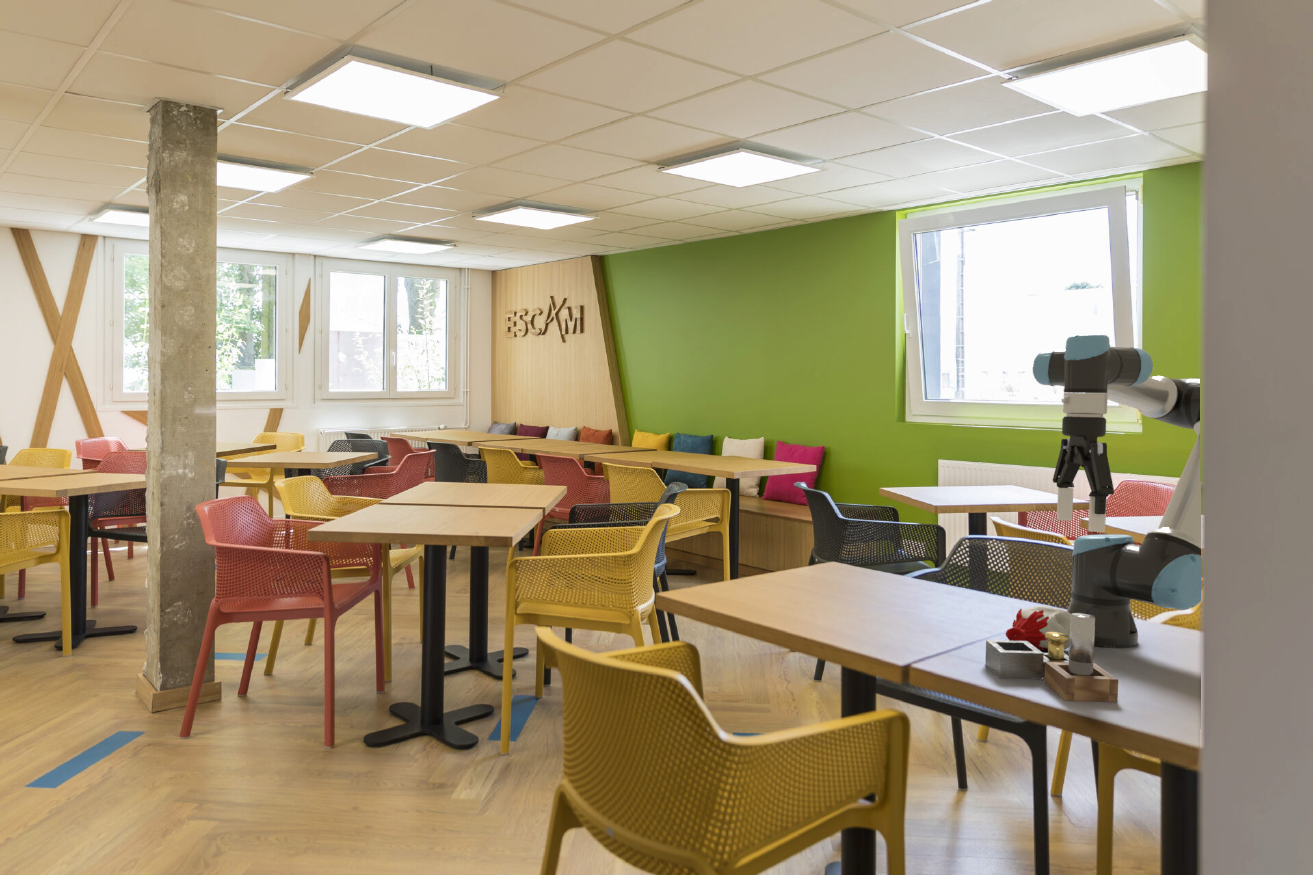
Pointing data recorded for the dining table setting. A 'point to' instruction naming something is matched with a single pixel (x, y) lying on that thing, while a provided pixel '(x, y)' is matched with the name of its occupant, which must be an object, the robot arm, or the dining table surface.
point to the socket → (1016, 659)
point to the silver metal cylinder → (1081, 644)
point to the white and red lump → (1039, 625)
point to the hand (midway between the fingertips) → (1079, 525)
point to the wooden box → (1081, 683)
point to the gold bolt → (1056, 645)
